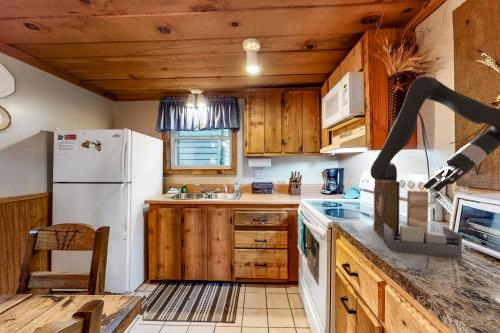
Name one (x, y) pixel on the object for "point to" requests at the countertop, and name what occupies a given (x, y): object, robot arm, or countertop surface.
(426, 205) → the birch board
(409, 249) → the rack
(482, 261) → the countertop surface
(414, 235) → the sage offcut
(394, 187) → the book
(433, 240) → the pale grey block
